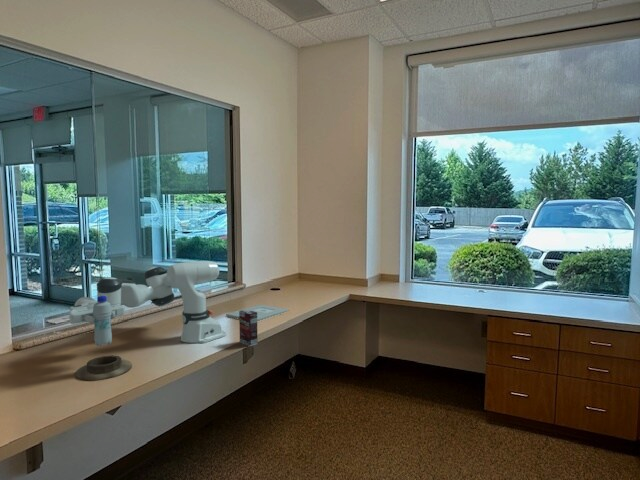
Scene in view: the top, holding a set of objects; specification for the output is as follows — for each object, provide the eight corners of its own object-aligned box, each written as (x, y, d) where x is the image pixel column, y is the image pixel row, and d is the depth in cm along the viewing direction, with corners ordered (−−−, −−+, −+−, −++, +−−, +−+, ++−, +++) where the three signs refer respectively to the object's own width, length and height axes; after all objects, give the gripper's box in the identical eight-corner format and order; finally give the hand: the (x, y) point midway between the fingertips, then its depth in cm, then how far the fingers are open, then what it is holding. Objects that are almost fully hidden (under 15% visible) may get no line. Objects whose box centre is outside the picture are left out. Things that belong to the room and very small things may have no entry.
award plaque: (226, 317, 251) (226, 313, 251) (260, 307, 276) (260, 304, 276) (255, 323, 237) (255, 320, 237) (289, 313, 262) (288, 309, 262)
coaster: (122, 357, 182) (121, 349, 181) (139, 370, 167) (138, 361, 167) (70, 370, 168) (69, 360, 168) (83, 385, 154) (83, 374, 153)
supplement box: (239, 342, 202) (238, 310, 201) (247, 340, 206) (246, 309, 204) (250, 346, 196) (249, 313, 195) (258, 344, 200) (257, 311, 198)
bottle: (115, 341, 171) (114, 293, 169) (107, 347, 164) (106, 297, 162) (99, 341, 170) (97, 293, 169) (90, 347, 164) (88, 297, 162)
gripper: (119, 314, 183) (130, 320, 173) (66, 323, 169) (74, 330, 159) (118, 300, 182) (129, 305, 172) (65, 307, 168) (74, 314, 158)
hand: (103, 317), depth 165 cm, fingers closed on bottle, 6 cm apart
